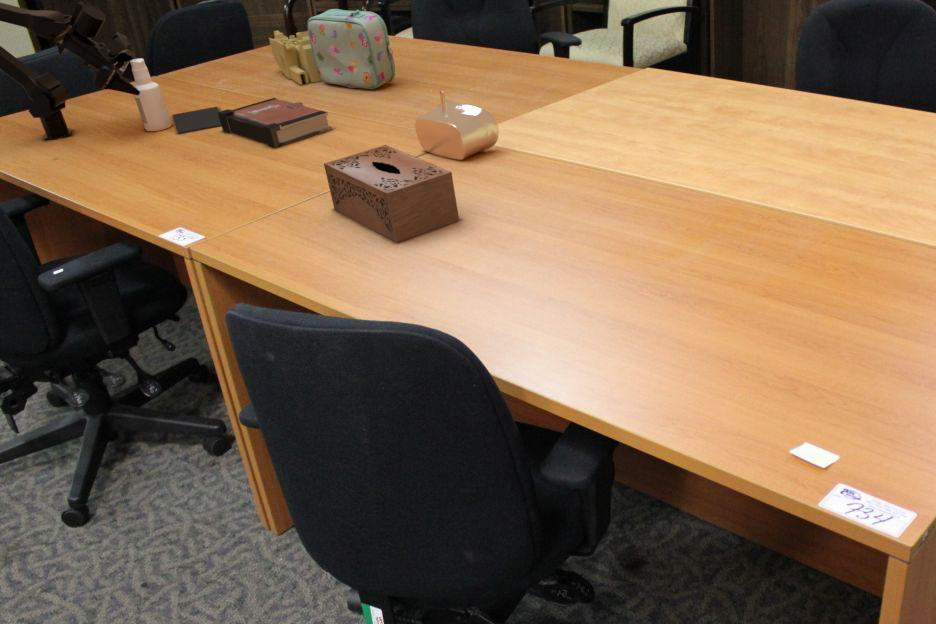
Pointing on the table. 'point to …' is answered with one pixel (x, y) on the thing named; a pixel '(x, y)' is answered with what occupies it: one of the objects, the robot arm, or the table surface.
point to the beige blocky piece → (295, 57)
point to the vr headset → (456, 130)
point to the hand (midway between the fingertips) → (144, 89)
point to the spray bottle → (149, 98)
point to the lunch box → (351, 48)
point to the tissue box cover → (392, 192)
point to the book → (274, 122)
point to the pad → (197, 120)
